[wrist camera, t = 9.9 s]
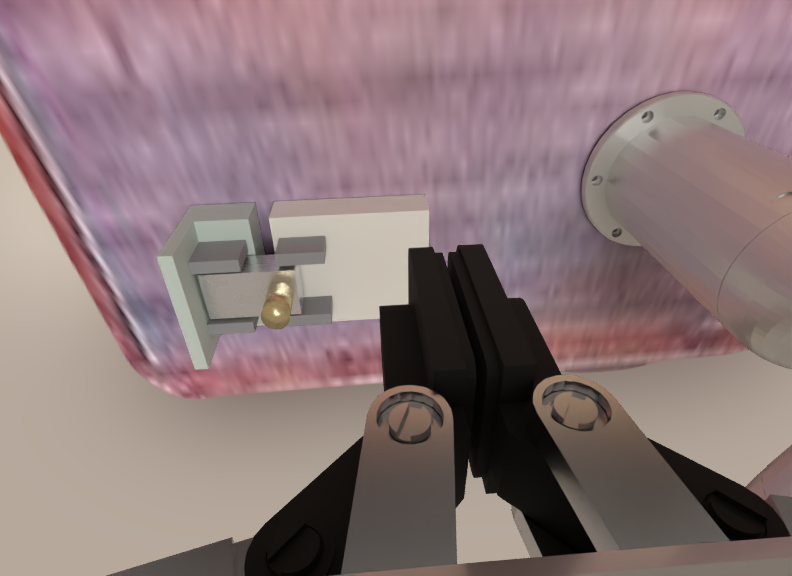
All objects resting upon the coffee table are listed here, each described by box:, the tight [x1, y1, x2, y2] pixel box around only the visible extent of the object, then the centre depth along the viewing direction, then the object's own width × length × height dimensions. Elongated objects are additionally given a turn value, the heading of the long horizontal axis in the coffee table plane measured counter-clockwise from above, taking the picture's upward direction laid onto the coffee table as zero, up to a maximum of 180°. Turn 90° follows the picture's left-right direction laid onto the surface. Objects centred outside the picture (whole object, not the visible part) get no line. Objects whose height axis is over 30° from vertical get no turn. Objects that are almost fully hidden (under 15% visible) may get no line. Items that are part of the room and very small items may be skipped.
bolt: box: [197, 255, 304, 329], centre depth 36 cm, size 7×4×6 cm, turn 91°
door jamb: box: [157, 202, 265, 370], centre depth 38 cm, size 5×10×8 cm, turn 1°
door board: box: [269, 194, 429, 326], centre depth 39 cm, size 12×10×6 cm
